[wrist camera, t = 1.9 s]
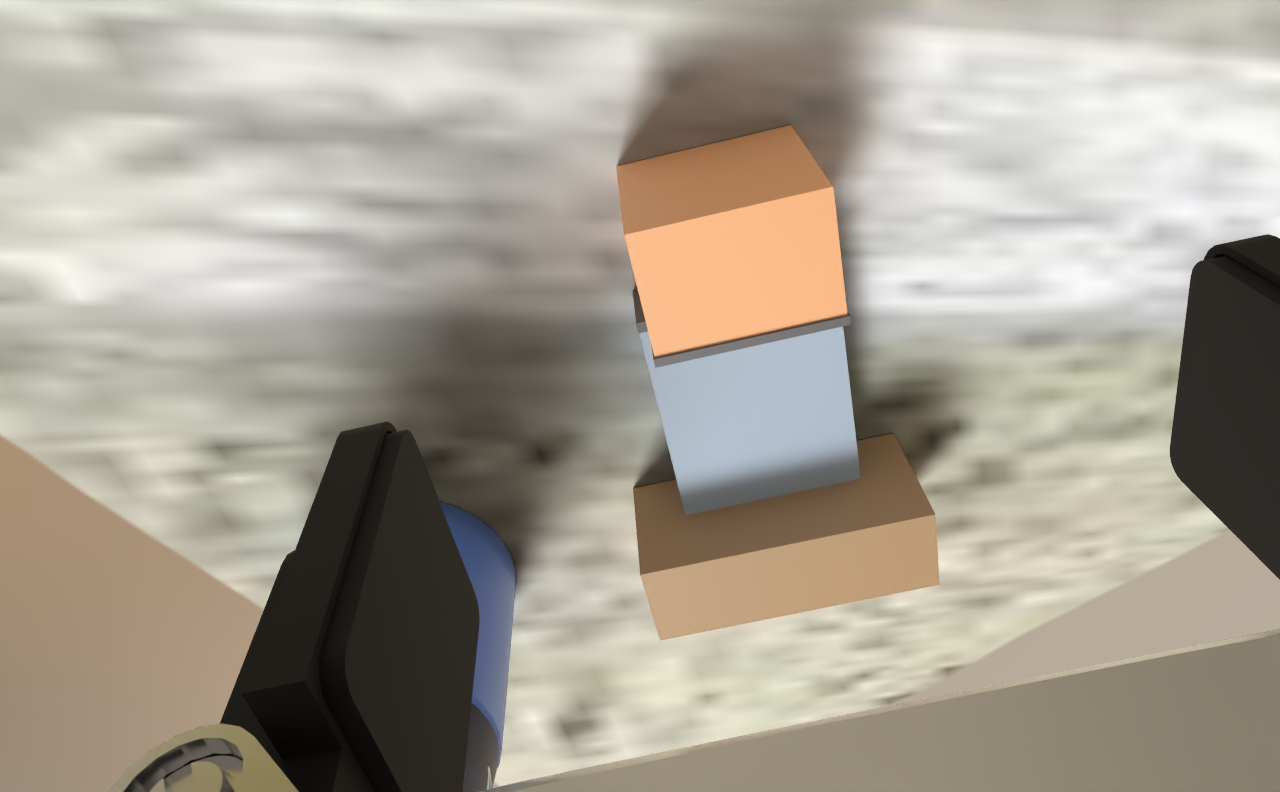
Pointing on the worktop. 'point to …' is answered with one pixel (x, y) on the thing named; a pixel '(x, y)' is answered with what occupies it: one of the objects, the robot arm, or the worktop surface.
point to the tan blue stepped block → (773, 491)
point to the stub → (733, 245)
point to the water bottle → (486, 641)
